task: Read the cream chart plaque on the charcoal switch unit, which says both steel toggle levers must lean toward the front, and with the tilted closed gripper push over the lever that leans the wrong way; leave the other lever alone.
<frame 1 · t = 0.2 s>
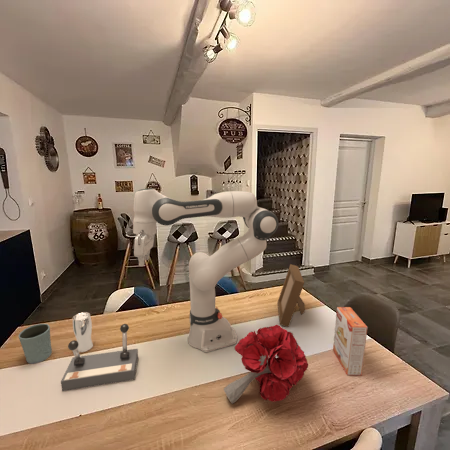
hand: (144, 262, 105), 39 cm above the table, tool pointing down, fingers open, 8 cm apart
switch unit: (103, 372, 98), on the table
lever b: (76, 353, 93), point 10 cm above the table, hinge at -20.0°
bouquet: (263, 389, 91), on the table
lever a: (124, 341, 100), point 10 cm above the table, hinge at 20.0°
green plant pot: (38, 357, 106), on the table
photo frame: (292, 316, 137), on the table
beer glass: (85, 347, 112), on the table
cracker box: (345, 363, 104), on the table
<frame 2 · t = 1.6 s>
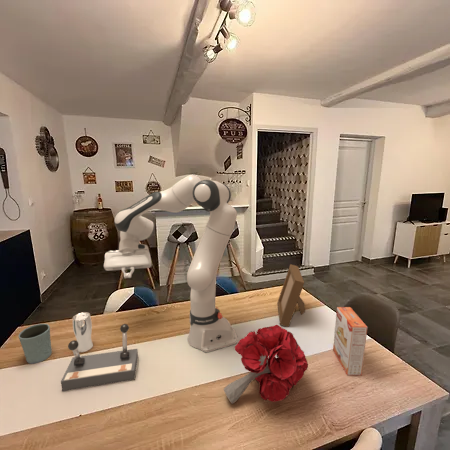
hand: (127, 277, 113), 29 cm above the table, tool tilted 45°, fingers closed
nothing on the table moved.
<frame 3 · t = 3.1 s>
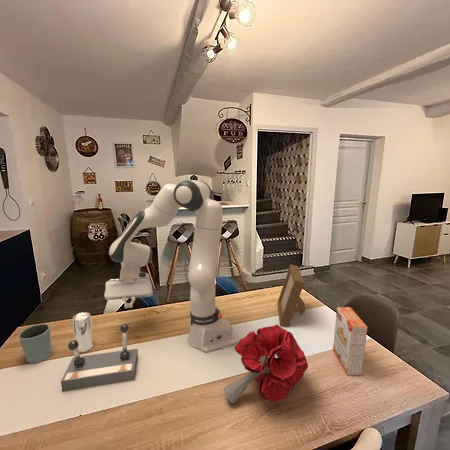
hand: (128, 307, 112), 17 cm above the table, tool tilted 45°, fingers closed
nothing on the table moved.
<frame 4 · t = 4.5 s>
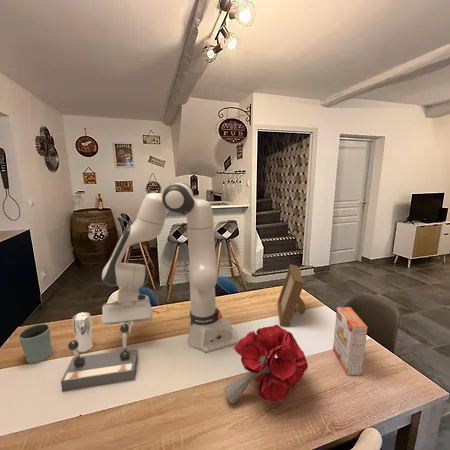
hand: (126, 333, 105), 10 cm above the table, tool tilted 45°, fingers closed
nothing on the table moved.
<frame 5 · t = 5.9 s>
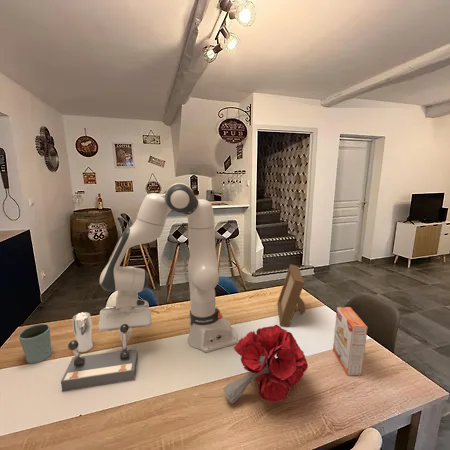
hand: (124, 340, 101), 10 cm above the table, tool tilted 45°, fingers closed, pressing on lever a
lever a: (124, 341, 100), point 10 cm above the table, hinge at 18.8°, touching gripper
everything else where it was.
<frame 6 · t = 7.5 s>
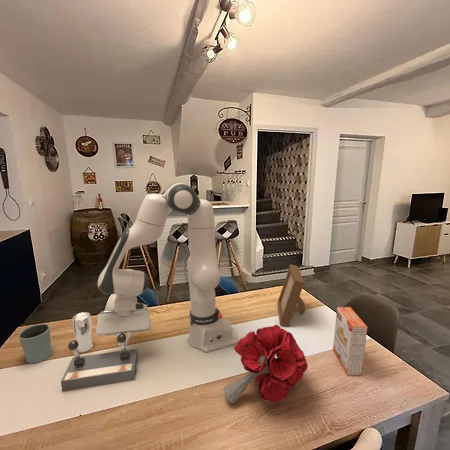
hand: (123, 345, 98), 10 cm above the table, tool tilted 45°, fingers closed, pressing on lever a
lever a: (123, 346, 97), point 10 cm above the table, hinge at -17.8°, touching gripper
everything else where it was.
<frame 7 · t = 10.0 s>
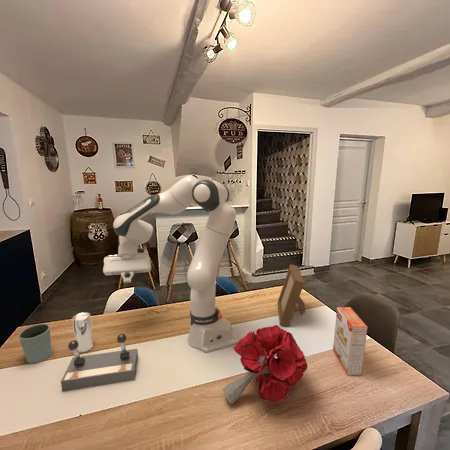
hand: (127, 282, 112), 27 cm above the table, tool tilted 45°, fingers closed
lever a: (123, 346, 97), point 10 cm above the table, hinge at -18.1°
everything else where it was.
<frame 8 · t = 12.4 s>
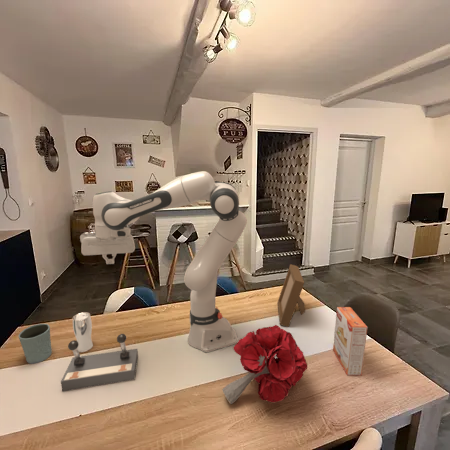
hand: (110, 263, 108), 37 cm above the table, tool pointing down, fingers closed
nothing on the table moved.
at the end: lever a at -18° (first picture: +20°); lever b at -20° (first picture: -20°) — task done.
